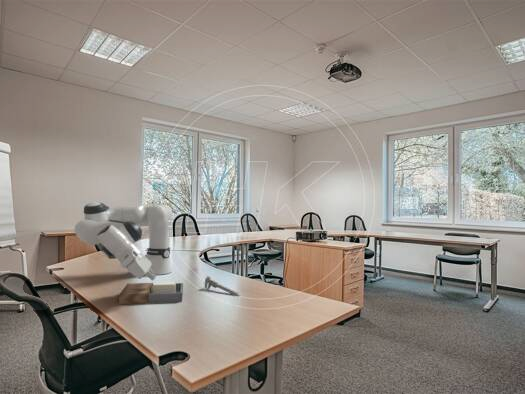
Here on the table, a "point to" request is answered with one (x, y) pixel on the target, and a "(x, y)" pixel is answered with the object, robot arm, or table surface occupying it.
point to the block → (164, 287)
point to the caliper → (215, 285)
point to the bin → (168, 295)
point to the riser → (136, 293)
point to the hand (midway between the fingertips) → (154, 278)
